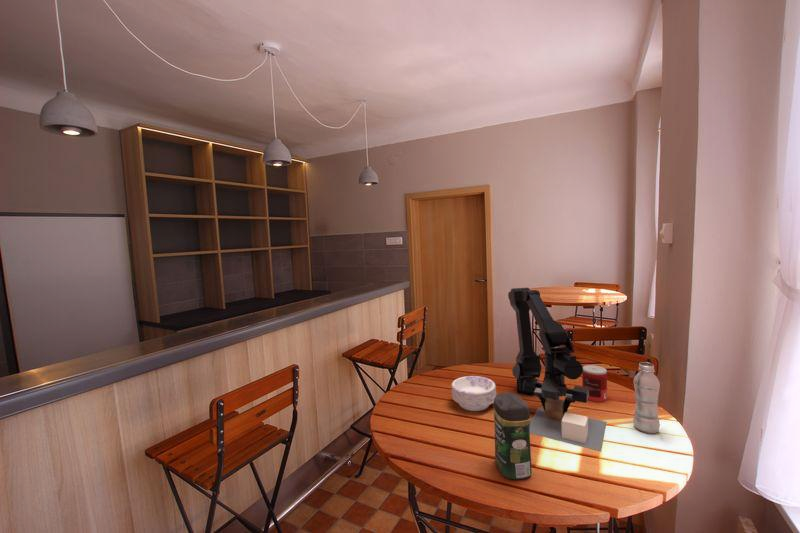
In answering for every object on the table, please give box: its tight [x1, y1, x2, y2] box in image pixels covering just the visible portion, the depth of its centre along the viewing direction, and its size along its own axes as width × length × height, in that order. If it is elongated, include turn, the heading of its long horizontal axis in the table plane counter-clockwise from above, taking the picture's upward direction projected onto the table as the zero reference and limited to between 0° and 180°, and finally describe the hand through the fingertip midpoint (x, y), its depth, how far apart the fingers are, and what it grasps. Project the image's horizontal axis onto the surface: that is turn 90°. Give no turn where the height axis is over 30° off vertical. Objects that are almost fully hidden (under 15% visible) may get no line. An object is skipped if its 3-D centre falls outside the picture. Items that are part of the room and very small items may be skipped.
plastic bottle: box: [632, 362, 661, 435], centre depth 104 cm, size 6×7×20 cm
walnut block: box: [545, 398, 565, 422], centre depth 114 cm, size 5×5×5 cm
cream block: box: [562, 411, 589, 443], centre depth 102 cm, size 6×6×5 cm
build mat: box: [530, 407, 608, 453], centre depth 108 cm, size 20×18×1 cm
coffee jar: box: [493, 392, 533, 481], centre depth 89 cm, size 10×8×19 cm
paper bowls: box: [451, 375, 497, 412], centre depth 125 cm, size 15×15×8 cm
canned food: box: [581, 364, 608, 403], centre depth 126 cm, size 8×8×11 cm
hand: (555, 415), depth 114 cm, fingers closed on walnut block, 5 cm apart
